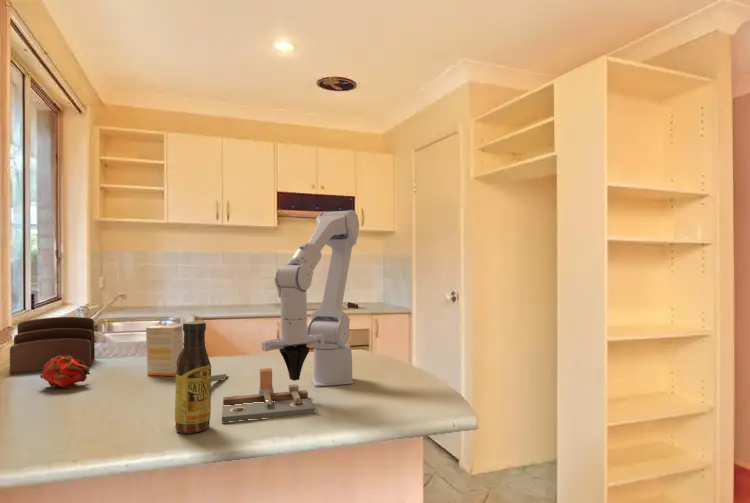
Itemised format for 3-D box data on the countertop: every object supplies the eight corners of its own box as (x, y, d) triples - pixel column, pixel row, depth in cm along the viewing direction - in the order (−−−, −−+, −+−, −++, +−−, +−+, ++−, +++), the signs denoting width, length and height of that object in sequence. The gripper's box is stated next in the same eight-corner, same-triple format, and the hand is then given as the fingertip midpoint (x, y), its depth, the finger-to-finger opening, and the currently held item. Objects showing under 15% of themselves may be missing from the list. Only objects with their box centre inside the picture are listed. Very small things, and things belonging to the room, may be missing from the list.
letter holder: (18, 366, 146) (17, 318, 146) (95, 360, 154) (94, 314, 154) (9, 374, 137) (8, 323, 137) (91, 366, 145) (90, 318, 145)
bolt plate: (310, 403, 107) (309, 397, 107) (314, 414, 100) (314, 407, 100) (222, 411, 102) (222, 405, 102) (221, 423, 96) (221, 416, 96)
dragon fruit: (44, 391, 125) (87, 399, 123) (23, 378, 118) (68, 387, 116) (62, 359, 130) (104, 367, 128) (44, 346, 123) (87, 354, 121)
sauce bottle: (189, 437, 88) (188, 326, 88) (167, 431, 92) (166, 323, 92) (218, 426, 94) (217, 321, 94) (197, 420, 97) (196, 319, 97)
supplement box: (184, 372, 137) (183, 324, 137) (174, 376, 132) (173, 327, 132) (157, 371, 138) (156, 324, 138) (146, 375, 133) (145, 326, 133)
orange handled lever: (272, 392, 111) (272, 367, 111) (276, 405, 101) (275, 378, 101) (258, 393, 110) (258, 368, 110) (261, 407, 100) (260, 380, 100)
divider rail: (306, 396, 112) (306, 383, 112) (312, 409, 103) (312, 395, 103) (223, 404, 108) (223, 390, 108) (222, 418, 98) (222, 403, 98)
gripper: (313, 314, 118) (314, 370, 118) (255, 319, 110) (256, 380, 110) (328, 317, 112) (329, 376, 112) (269, 323, 104) (270, 387, 104)
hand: (294, 379), depth 111 cm, fingers closed
